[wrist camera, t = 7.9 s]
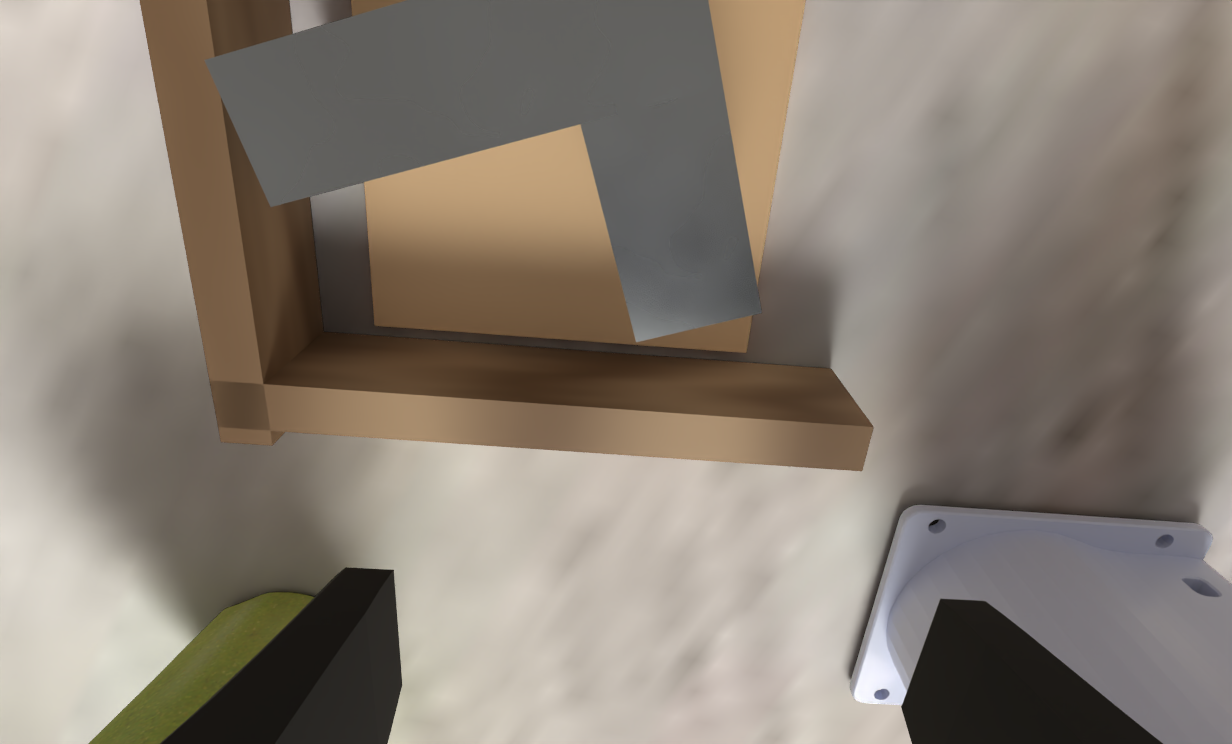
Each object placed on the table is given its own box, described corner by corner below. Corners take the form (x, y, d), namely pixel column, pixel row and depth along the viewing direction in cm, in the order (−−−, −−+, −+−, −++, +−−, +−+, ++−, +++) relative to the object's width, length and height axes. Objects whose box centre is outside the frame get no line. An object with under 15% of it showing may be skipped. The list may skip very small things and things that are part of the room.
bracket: (670, -34, 15) (693, -85, 10) (723, 249, 17) (761, 312, 12) (327, 64, 15) (203, 60, 11) (426, 321, 18) (360, 405, 13)
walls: (956, -187, 14) (1056, -265, 11) (819, 419, 19) (858, 485, 16) (200, -261, 13) (72, -365, 10) (286, 381, 19) (220, 442, 16)
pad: (802, -3, 15) (806, -5, 15) (744, 348, 18) (746, 352, 18) (352, -43, 15) (347, -45, 14) (378, 321, 18) (374, 325, 18)
